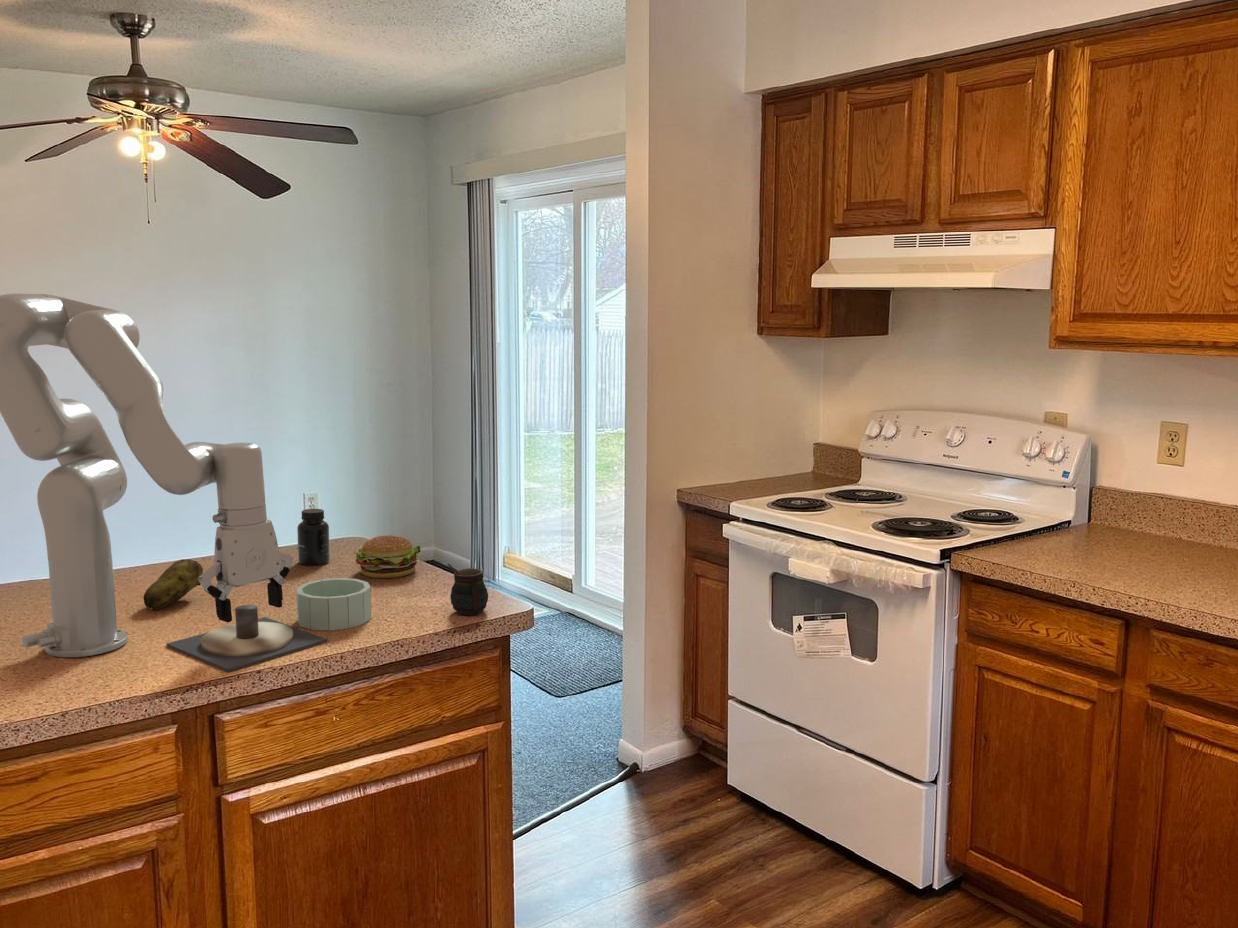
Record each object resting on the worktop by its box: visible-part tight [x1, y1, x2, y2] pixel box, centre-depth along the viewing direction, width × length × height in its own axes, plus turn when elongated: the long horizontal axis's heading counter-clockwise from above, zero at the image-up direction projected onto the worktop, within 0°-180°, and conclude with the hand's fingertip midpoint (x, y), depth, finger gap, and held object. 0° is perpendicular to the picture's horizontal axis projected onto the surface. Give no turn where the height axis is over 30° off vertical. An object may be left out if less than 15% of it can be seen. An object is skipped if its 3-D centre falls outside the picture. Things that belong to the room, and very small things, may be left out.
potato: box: [143, 558, 204, 611], centre depth 197 cm, size 8×13×8 cm, turn 141°
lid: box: [201, 604, 293, 656], centre depth 175 cm, size 15×15×6 cm
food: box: [353, 534, 421, 579], centre depth 221 cm, size 14×14×8 cm
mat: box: [166, 616, 329, 673], centre depth 176 cm, size 19×19×1 cm
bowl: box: [295, 577, 372, 631], centre depth 189 cm, size 13×13×6 cm
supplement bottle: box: [296, 508, 331, 567], centre depth 228 cm, size 7×7×12 cm
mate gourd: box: [447, 563, 489, 616], centre depth 194 cm, size 7×8×10 cm
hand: (250, 613), depth 175 cm, fingers open, 9 cm apart
